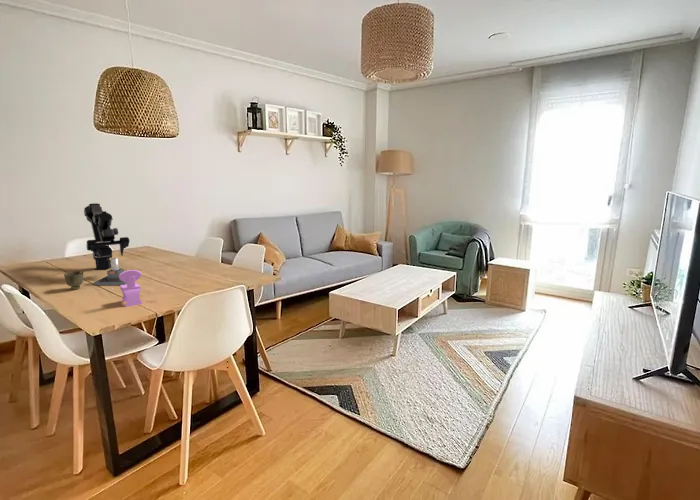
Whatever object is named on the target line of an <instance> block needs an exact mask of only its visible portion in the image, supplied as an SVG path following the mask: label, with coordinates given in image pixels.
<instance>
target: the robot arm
mask: <svg viewBox="0 0 700 500" xmlns="http://www.w3.org/2000/svg"><path fill="white" fill-rule="evenodd" d="M83 215H84V217H85V218H86V220H87V221H88V222H89V223H90V224H91V228H92V233H93V238H94V239H88V240H86V250H87V251H91V252H92V259H93V260H94V261H95V268H94V270H95V271H96V270H97V271H98V270H99V271H101V270H108V269H109V270H110V268H111V269H112V267H111V258H113V249H112V248H111V247H110V246H115V245H116V246H117V245H119V250H120V251H119V252H120V256H121V257H122V256H124V255H123V254H124V249H126V248H128V247H130V246H129V244H130V238H129V237H128V236H124V237H120V238H119V239H118V240H115V238H116V236H115V235H117V236H118V234H119V230H118V227H113V228H111V226H112V221H113V215H112V214H111V213H109V212H107V211H106V210H105V211H103V209H102V206H101V203H98V202H97V203H96V202H95V203H89V204H88V205H87V206H85V207H84V209H83Z"/></svg>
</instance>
